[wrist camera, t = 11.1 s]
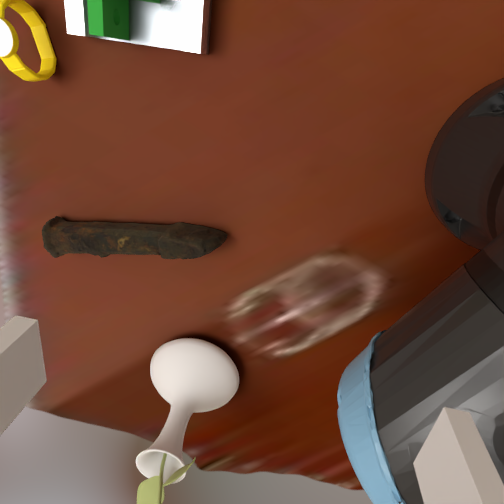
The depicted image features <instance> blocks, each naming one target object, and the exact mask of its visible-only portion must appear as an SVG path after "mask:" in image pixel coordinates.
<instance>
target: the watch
mask: <svg viewBox="0 0 504 504" xmlns="http://www.w3.org/2000/svg"><path fill="white" fill-rule="evenodd" d="M7 6H10V7H11V8H12V9H14V10H15V11H17V12H18V13H19V14H20V15H21V16H22V17H23V19H24V20H25V21H26V22H27V24H28V25H29V26H30V28H31V31H32V34H33V36H34V39H35V42H36V45H37V48H38V51H39V54H40V56H41V59H42V61H41V68H40V71H39V72H38V73H37V74H36V73H35V72H34V71H32V70H31V69H30V68H28V67H27V66H26V65H25V64H24V63H23V62H22V60H21V59H20V58H19V56H18V55H17V53H16V52H17V50H18V46H19V40H18V35H17V33H16V31H15V29H14V27H13V26H12V25H11V23H10V22H8V21H7V20H6V19H4V9H5V8H6V7H7ZM0 58H1V59H2V61H3V62H4V63H5V65H6V66H7V67H8V68H9V70H11V71H12V72H13V73H14V74H16V75H17V76H19V77H20V78H22V79H23V80H25V81H40V80H46V79H49V78H50V77H51V76H52V75H53V74H54V73H55V69H56V61H57V59H56V56H55V53H54V50H53V47H52V44H51V41H50V38H49V35H48V32H47V29H46V24H45V23H44V21H43V20H42V19H41V17H40V16H39V14H38V13H37V12H36V10H35V9H33V7H32V6H30V5H29V4H28V3H27V2H25V1H24V0H0Z"/></svg>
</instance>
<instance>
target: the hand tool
mask: <svg viewBox="0 0 504 504" xmlns="http://www.w3.org/2000/svg"><path fill="white" fill-rule="evenodd" d="M42 236H43V241H44V248H45V249H46V250H47V251H48V252H49V253H50V254H51V255H52V256H53V257H55V258H57V257H59V256H62V255H64V254H68V253H79V254H80V253H88V254H92V255H95V256H96V255H99V256H100V257H106V256H108V255H110V254H136V255H149V254H155V255H161V257H162V258H163V259H177V258H181V259H187V258H188V259H194V258H198V257H201V256H203V255H206V254H209V253H211V252H212V251H213V250H215V249H216V248H218V247H219V246H221V245H222V244H223V243H224V242H225V240H226V238H227V234H226V233H225V232H222V231H220V230H217V229H213V228H209V227H205V226H201V225H192V224H187V223H182V222H178V223H175V224H172V225H156V224H139V223H111V222H98V221H94V222H68V221H65V219H63V218H61V217H59V216H56V217H55V218H53V219H51V220H49V221H48V222H46V224H45V225H44V226H43V229H42Z"/></svg>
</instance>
